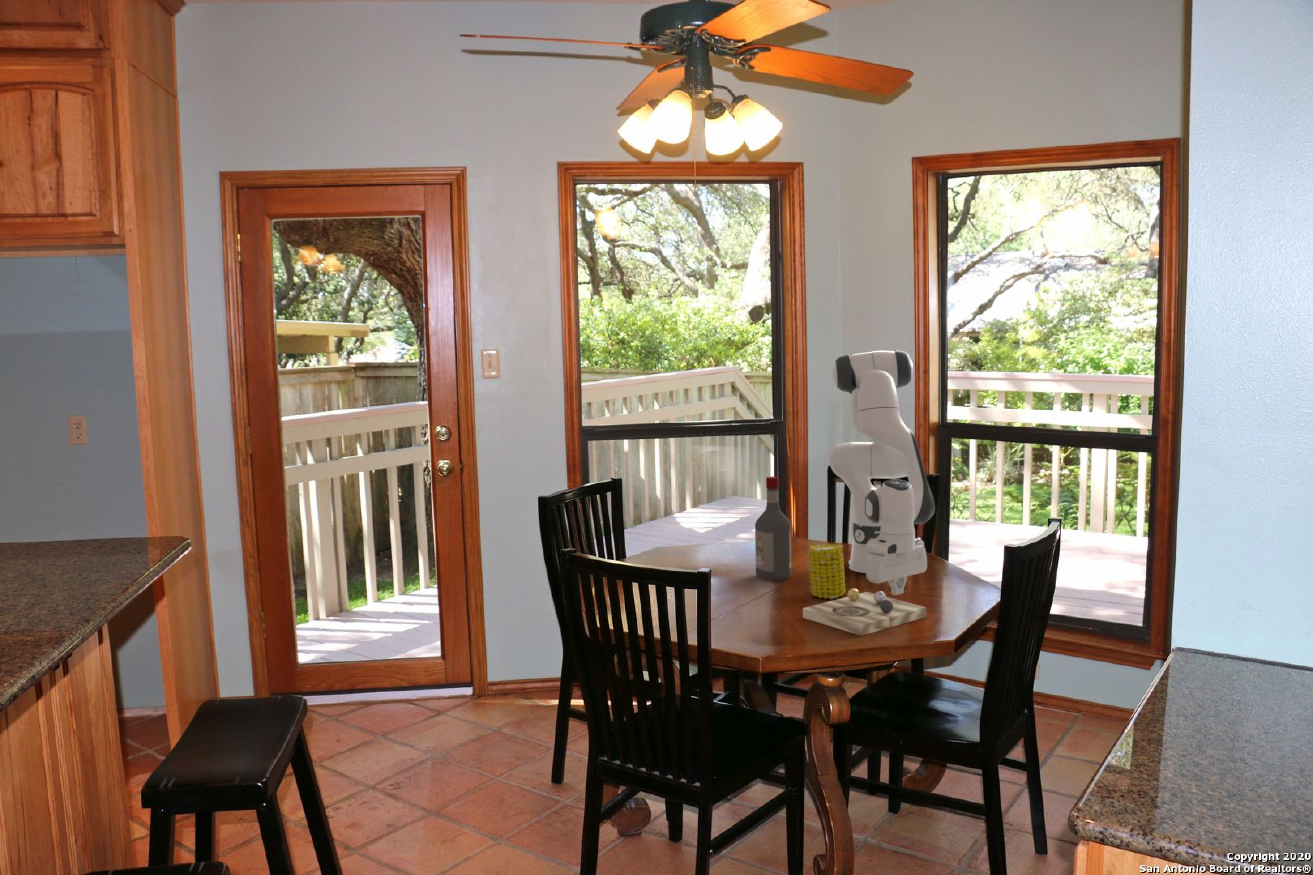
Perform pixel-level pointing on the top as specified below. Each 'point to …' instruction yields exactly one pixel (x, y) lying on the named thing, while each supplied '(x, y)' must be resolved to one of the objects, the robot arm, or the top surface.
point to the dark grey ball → (886, 606)
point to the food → (827, 571)
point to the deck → (863, 614)
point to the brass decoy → (853, 594)
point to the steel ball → (880, 597)
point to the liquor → (773, 538)
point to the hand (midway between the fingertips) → (897, 593)
